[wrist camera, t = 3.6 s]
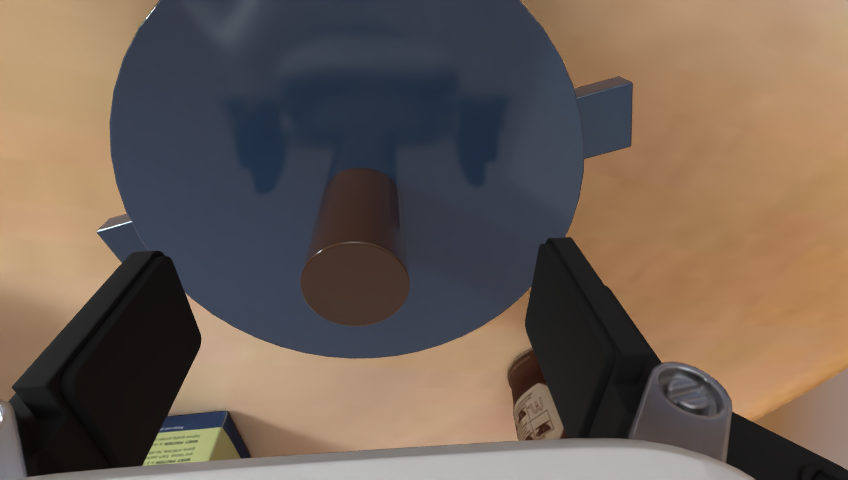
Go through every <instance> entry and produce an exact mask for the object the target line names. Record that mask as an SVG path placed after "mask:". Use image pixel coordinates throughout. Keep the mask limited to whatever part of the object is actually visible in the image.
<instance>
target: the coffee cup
mask: <svg viewBox="0 0 848 480" xmlns="http://www.w3.org/2000/svg"><path fill="white" fill-rule="evenodd" d="M508 381H509V385H510V387H511V389H512V395H513V403H514V411H513V416H514V420H515V425H516V431H517V436H518V440H519V441H527V440H549V439H568V438H567V435H566V433H565V430H564V427H563V425H562V422H561V420H560V417H559V414H558V412H557V409H556V407H555V404H554V402H553V399H552V396H551V394H550V391H549V389H548V386H547V384H546V381H545V378H544V376H543V373H542V371H541V368H540V366H539V363H538V360H537V358H536V355H535V353H534V350H533V348H532V349H530V350H528V351H526V352H524V353H522V354H521V355H520V356H519V357H517V358H516V360H515V361H514V362H513V363H512V365H511V366H510V368H509V370H508Z"/></svg>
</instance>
